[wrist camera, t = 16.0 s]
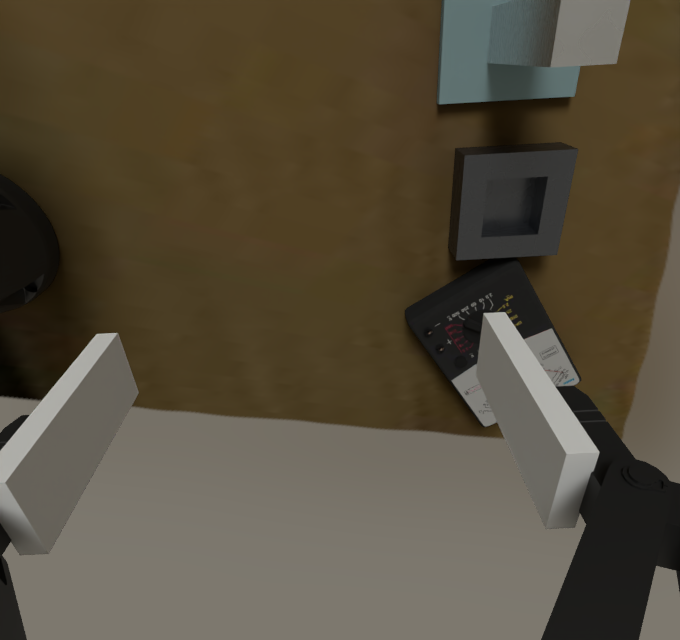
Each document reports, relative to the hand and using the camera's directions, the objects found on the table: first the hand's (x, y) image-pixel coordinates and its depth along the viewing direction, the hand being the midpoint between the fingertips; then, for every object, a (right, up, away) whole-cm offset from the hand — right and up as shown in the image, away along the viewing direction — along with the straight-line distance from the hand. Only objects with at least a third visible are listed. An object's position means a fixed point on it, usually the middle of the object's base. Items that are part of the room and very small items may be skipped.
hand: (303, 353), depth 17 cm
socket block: (+18, +14, +29) cm, 37 cm away
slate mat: (+16, +26, +22) cm, 37 cm away
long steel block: (+16, +25, +21) cm, 36 cm away
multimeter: (+19, -1, +38) cm, 43 cm away
